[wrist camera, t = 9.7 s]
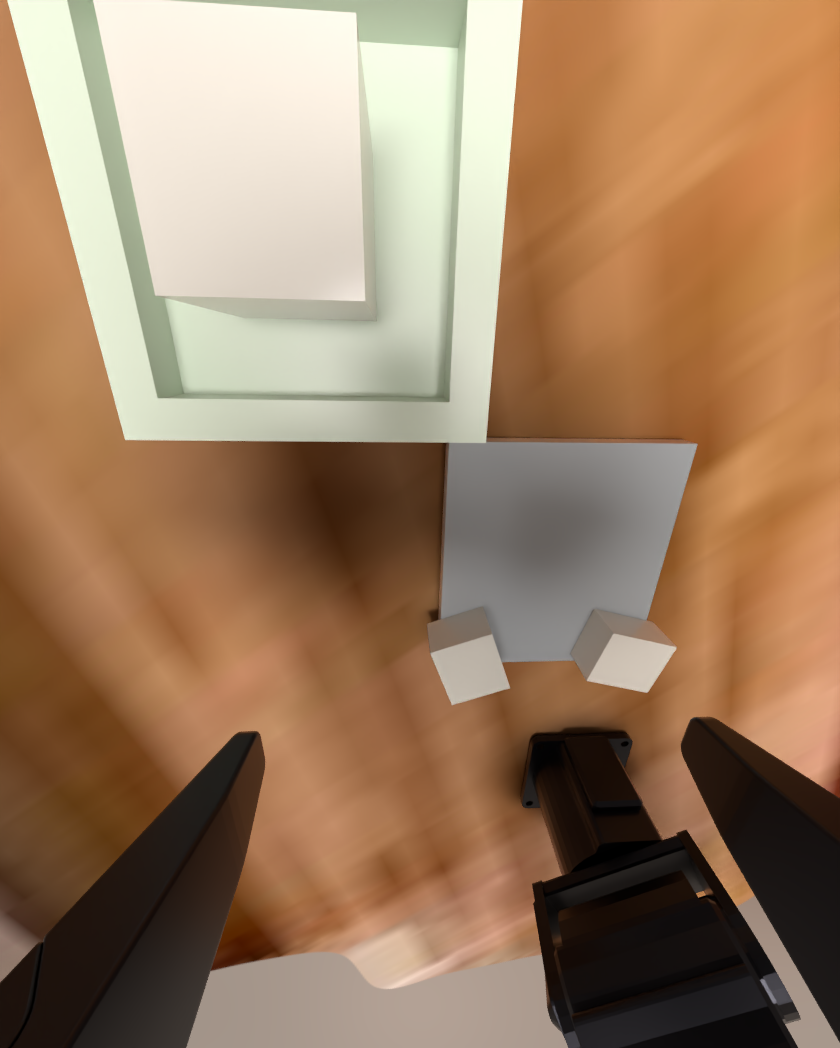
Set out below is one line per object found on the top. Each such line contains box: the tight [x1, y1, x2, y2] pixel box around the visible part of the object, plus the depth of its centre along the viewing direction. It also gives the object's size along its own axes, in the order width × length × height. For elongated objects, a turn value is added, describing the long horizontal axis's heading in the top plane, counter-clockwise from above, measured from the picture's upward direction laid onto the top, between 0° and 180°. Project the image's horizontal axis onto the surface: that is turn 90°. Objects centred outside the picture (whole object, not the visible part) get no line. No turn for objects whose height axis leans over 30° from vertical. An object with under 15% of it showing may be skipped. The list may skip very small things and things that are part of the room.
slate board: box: [427, 438, 697, 705], centre depth 19 cm, size 13×12×3 cm
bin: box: [7, 0, 523, 443], centre depth 14 cm, size 14×14×2 cm
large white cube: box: [93, 0, 377, 321], centre depth 11 cm, size 5×5×6 cm
